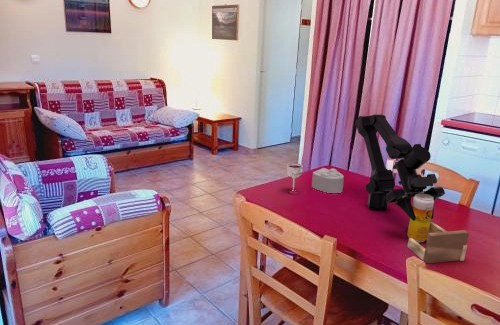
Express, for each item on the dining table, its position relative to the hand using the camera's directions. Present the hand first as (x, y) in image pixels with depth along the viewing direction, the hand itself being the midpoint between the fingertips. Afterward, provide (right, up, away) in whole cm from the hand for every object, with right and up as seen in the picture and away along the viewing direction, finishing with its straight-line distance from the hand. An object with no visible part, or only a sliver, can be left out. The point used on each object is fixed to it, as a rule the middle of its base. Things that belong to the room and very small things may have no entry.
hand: (423, 219), depth 123 cm
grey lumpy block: (-21, +6, +45) cm, 50 cm away
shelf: (0, -8, 0) cm, 8 cm away
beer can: (-1, -7, +4) cm, 8 cm away
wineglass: (-37, +5, +41) cm, 55 cm away
